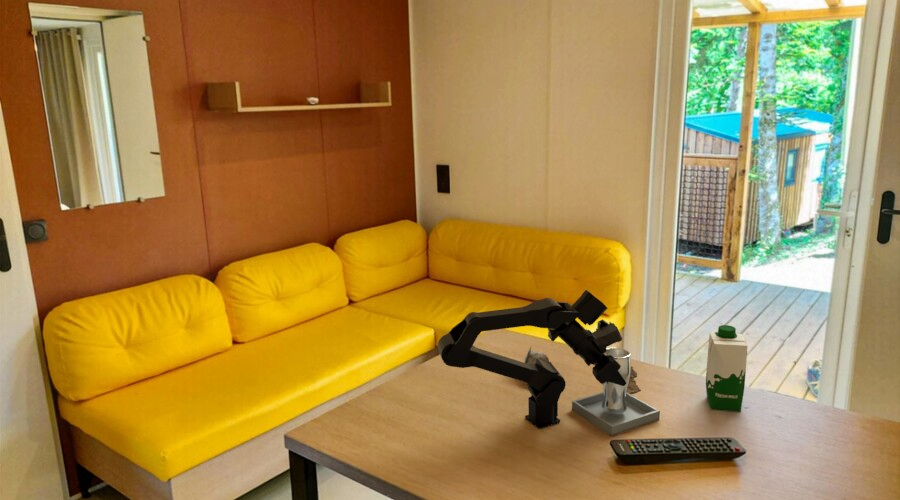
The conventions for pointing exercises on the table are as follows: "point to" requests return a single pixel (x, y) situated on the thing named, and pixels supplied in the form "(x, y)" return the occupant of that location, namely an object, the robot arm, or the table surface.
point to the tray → (615, 423)
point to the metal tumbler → (613, 392)
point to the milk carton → (726, 369)
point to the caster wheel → (535, 357)
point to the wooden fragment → (632, 383)
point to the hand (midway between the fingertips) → (620, 378)
